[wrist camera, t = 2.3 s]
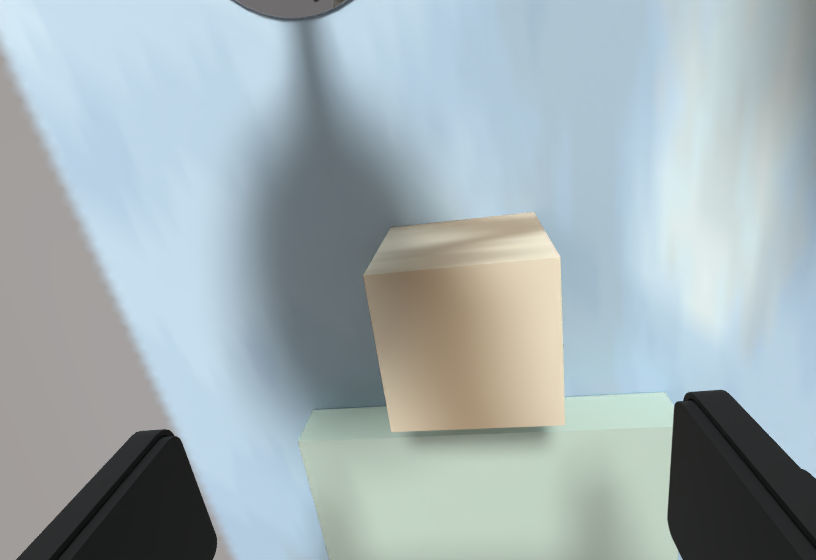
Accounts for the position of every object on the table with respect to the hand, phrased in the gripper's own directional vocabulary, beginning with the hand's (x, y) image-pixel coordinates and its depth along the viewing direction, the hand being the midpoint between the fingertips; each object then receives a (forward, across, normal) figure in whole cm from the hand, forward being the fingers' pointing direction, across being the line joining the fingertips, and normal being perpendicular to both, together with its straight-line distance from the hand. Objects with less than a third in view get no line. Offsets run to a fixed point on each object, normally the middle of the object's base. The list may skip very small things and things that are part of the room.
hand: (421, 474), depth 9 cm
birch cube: (+9, -1, 0) cm, 9 cm away
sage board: (+9, -1, +10) cm, 14 cm away
